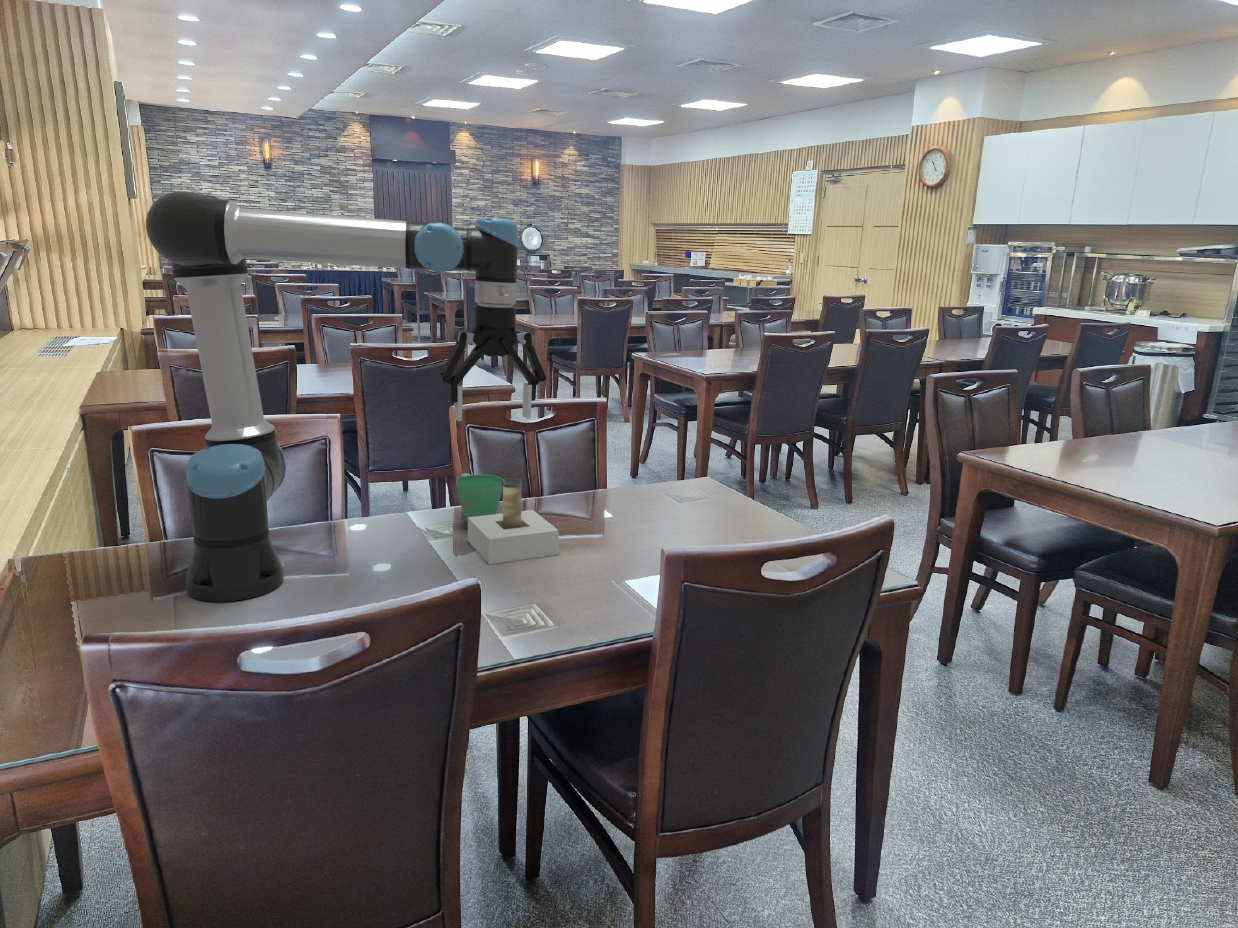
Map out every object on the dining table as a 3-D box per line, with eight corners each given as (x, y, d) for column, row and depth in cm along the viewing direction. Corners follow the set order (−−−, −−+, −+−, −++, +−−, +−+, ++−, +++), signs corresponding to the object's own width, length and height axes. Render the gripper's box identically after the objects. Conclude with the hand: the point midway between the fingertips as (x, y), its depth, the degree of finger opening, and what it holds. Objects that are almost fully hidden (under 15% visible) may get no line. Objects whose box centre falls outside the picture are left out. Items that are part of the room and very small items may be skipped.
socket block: (489, 564, 153) (489, 539, 151) (467, 540, 165) (467, 517, 163) (558, 554, 159) (558, 530, 158) (532, 532, 171) (532, 509, 170)
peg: (506, 551, 159) (506, 483, 156) (500, 545, 162) (500, 478, 159) (524, 549, 161) (524, 481, 157) (517, 543, 164) (518, 476, 161)
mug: (510, 528, 173) (510, 483, 171) (467, 535, 168) (466, 488, 165) (483, 509, 185) (483, 467, 182) (442, 515, 180) (441, 472, 177)
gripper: (433, 305, 141) (432, 424, 146) (565, 309, 152) (560, 420, 157) (422, 301, 147) (422, 416, 152) (550, 306, 158) (546, 412, 164)
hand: (492, 418), depth 155 cm, fingers open, 13 cm apart
